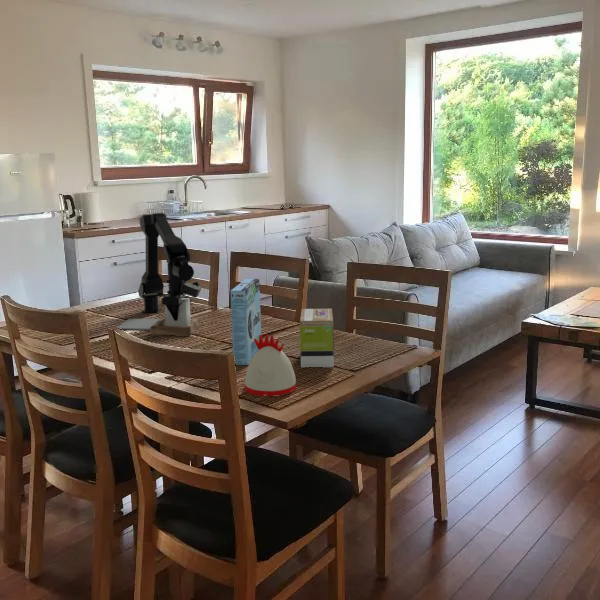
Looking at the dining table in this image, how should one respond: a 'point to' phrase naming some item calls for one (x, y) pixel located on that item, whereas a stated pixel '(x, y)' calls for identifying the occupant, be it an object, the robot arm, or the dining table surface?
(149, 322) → the slate mat
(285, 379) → the kitchen timer
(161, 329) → the walnut bay
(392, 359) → the dining table surface
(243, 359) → the blue thin cardboard box
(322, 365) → the tea box
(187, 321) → the small box
